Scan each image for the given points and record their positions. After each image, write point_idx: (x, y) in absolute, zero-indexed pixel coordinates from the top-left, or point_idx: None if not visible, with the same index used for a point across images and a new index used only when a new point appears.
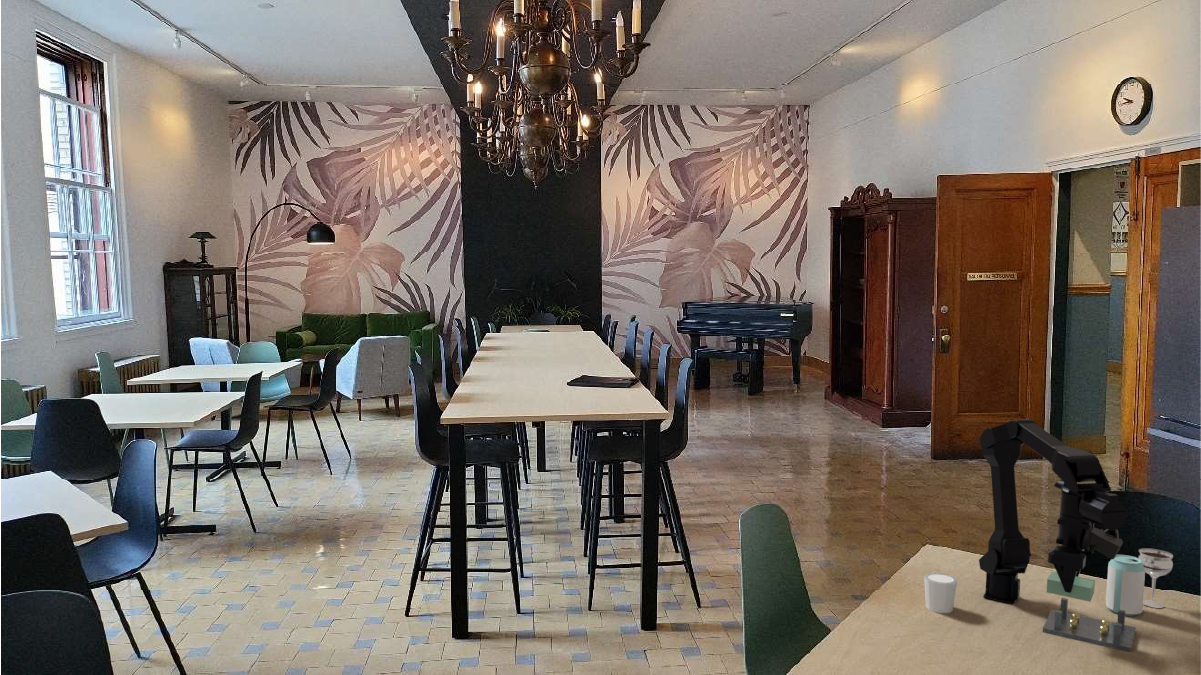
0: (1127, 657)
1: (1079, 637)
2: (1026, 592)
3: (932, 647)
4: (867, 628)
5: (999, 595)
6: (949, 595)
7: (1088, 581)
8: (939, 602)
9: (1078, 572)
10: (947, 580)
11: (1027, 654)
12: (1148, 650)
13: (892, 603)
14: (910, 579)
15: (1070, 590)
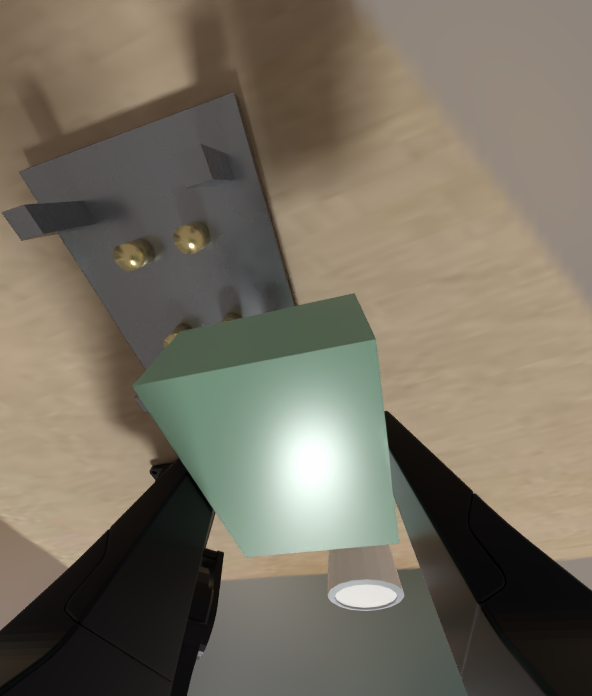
0: (303, 82)
1: (288, 282)
2: (113, 462)
3: (578, 469)
4: (539, 544)
5: None
6: (377, 547)
7: (218, 406)
8: None
9: (170, 502)
10: (366, 588)
11: (504, 338)
12: (152, 38)
13: (393, 555)
14: (264, 569)
15: (397, 422)
